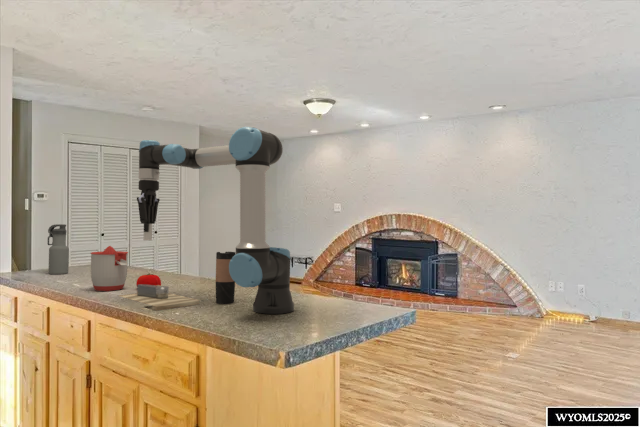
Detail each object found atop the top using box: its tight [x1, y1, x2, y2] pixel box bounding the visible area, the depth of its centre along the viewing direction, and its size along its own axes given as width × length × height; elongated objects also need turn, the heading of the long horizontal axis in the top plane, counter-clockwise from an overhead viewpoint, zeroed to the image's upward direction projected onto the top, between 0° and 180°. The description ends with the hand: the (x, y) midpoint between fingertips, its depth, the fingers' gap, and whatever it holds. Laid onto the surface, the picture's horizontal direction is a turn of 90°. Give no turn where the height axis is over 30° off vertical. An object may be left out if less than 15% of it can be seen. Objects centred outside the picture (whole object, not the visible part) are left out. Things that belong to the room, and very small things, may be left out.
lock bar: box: [136, 284, 169, 299], centre depth 181 cm, size 16×5×4 cm, turn 60°
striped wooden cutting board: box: [117, 292, 201, 312], centre depth 178 cm, size 31×18×2 cm, turn 49°
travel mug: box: [215, 251, 236, 305], centre depth 179 cm, size 8×8×20 cm
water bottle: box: [47, 223, 70, 276], centre depth 256 cm, size 10×10×28 cm
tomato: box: [135, 272, 162, 286], centre depth 199 cm, size 9×10×8 cm
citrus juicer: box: [90, 245, 129, 293], centre depth 205 cm, size 16×17×20 cm
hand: (147, 240), depth 177 cm, fingers closed
